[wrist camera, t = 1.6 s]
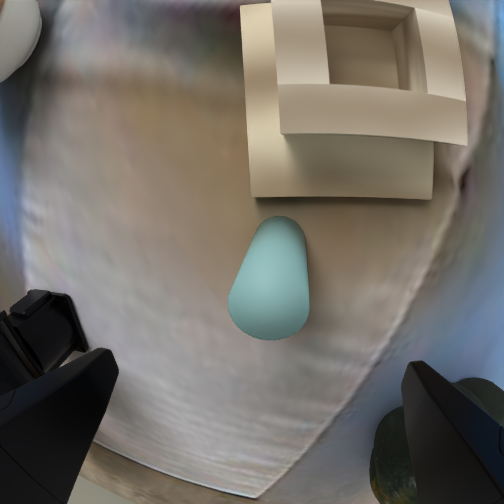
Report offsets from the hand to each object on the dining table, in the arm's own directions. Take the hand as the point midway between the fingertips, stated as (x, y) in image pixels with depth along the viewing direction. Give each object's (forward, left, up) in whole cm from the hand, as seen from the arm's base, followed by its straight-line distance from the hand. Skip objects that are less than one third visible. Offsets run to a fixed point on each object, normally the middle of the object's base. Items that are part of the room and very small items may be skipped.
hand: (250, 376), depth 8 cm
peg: (0, 0, -12) cm, 12 cm away
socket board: (+9, -4, -12) cm, 16 cm away
